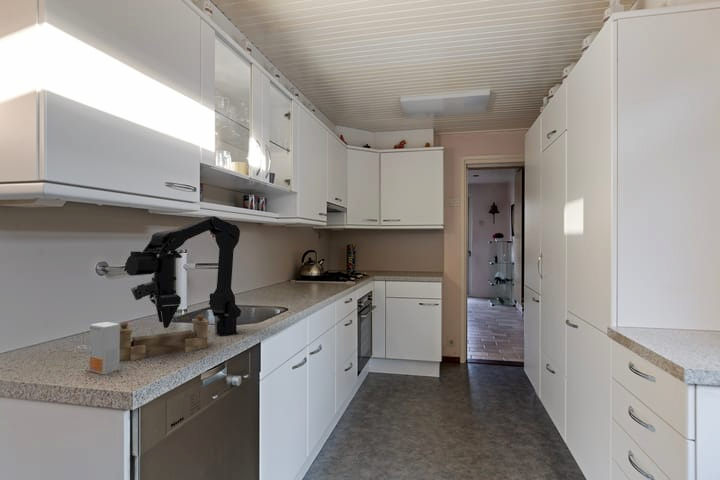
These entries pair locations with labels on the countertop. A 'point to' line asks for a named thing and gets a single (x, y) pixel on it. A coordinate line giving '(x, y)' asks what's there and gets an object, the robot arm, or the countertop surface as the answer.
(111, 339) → the skincare box
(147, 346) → the rail
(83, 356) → the countertop surface
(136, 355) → the wooden stepped supports
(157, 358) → the countertop surface
